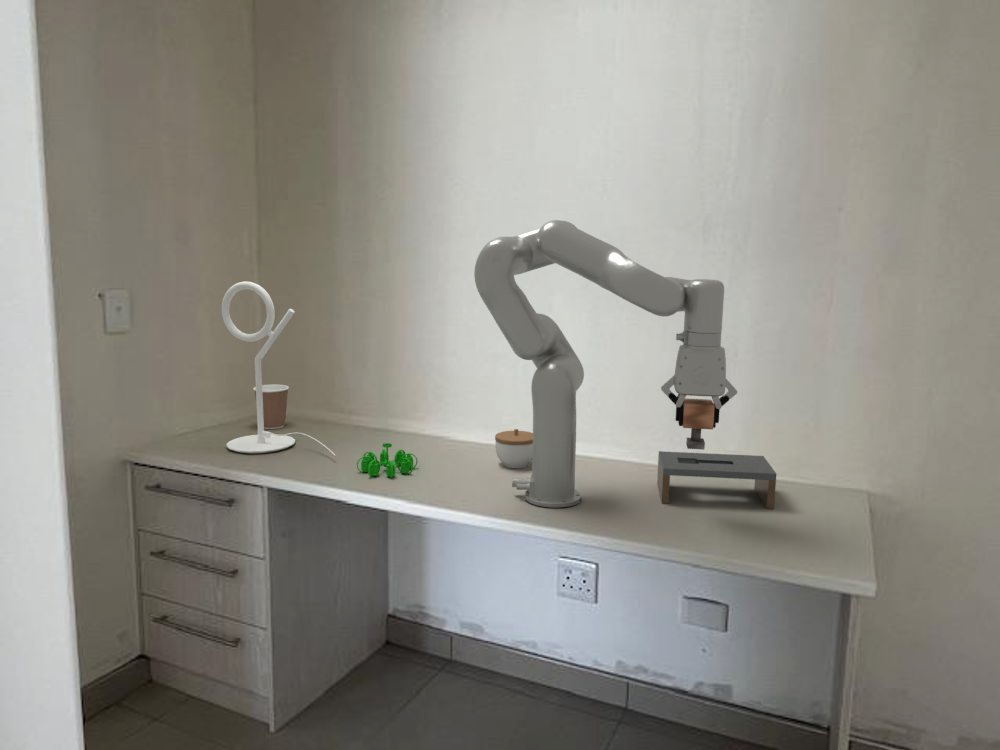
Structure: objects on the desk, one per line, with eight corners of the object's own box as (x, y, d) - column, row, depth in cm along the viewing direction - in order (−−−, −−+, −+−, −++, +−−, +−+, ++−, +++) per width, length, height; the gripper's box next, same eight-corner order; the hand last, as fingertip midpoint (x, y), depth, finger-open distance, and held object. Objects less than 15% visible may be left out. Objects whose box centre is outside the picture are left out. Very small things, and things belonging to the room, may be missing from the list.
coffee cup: (295, 423, 243) (293, 384, 241) (282, 431, 233) (281, 391, 231) (262, 421, 244) (261, 383, 242) (249, 429, 234) (247, 390, 232)
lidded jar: (490, 460, 205) (490, 425, 204) (529, 458, 208) (530, 423, 206) (500, 472, 195) (501, 435, 193) (541, 469, 198) (542, 433, 196)
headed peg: (681, 449, 163) (684, 404, 161) (679, 442, 169) (682, 398, 167) (711, 451, 162) (714, 405, 160) (708, 444, 168) (711, 399, 166)
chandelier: (429, 468, 199) (429, 441, 197) (394, 484, 186) (393, 456, 184) (381, 459, 206) (381, 433, 204) (344, 474, 193) (343, 447, 191)
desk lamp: (208, 450, 211) (198, 282, 203) (248, 434, 228) (241, 278, 220) (332, 464, 200) (327, 286, 192) (365, 446, 217) (362, 282, 209)
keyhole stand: (661, 503, 174) (663, 468, 172) (657, 483, 188) (658, 451, 186) (773, 509, 171) (776, 473, 170) (760, 488, 185) (763, 455, 183)
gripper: (660, 341, 159) (655, 427, 162) (748, 344, 157) (741, 432, 160) (658, 336, 166) (653, 419, 169) (742, 339, 164) (736, 423, 167)
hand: (696, 424), depth 165 cm, fingers closed on headed peg, 6 cm apart
